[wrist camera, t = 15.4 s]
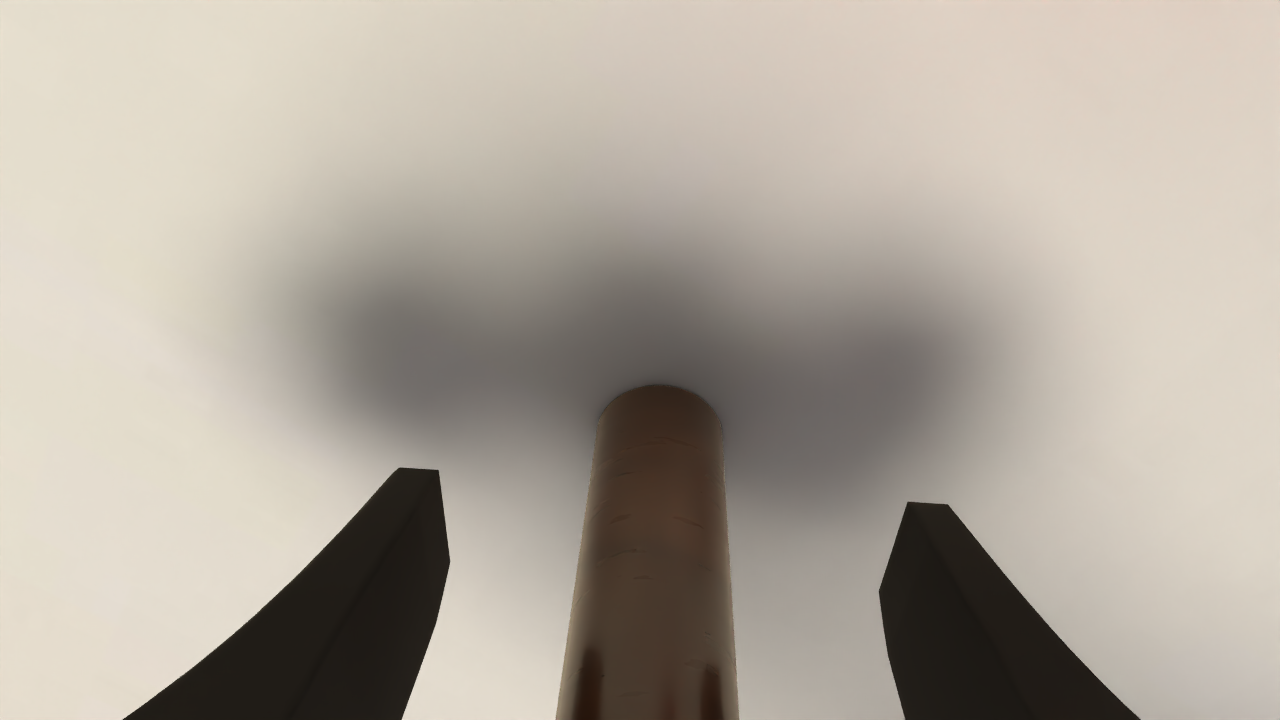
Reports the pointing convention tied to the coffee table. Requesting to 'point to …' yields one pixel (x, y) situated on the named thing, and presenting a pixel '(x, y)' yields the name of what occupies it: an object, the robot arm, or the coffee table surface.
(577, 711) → the brown cylinder
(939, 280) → the coffee table surface
